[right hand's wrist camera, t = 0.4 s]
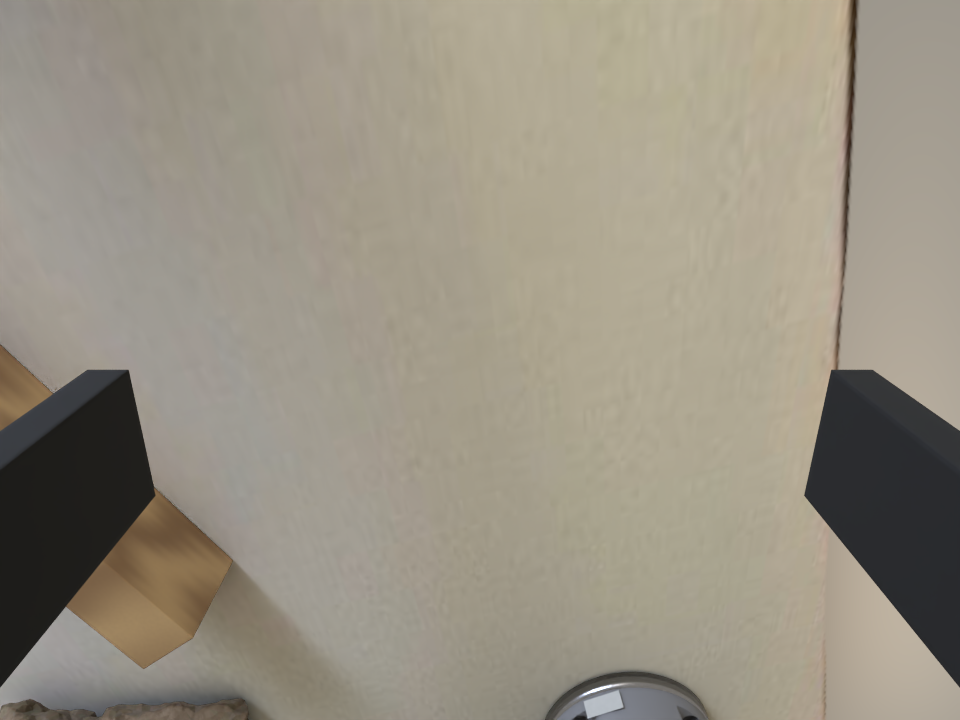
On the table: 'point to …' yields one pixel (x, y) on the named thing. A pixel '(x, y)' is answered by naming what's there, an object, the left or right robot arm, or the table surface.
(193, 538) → the bar
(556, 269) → the table surface
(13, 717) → the stone
